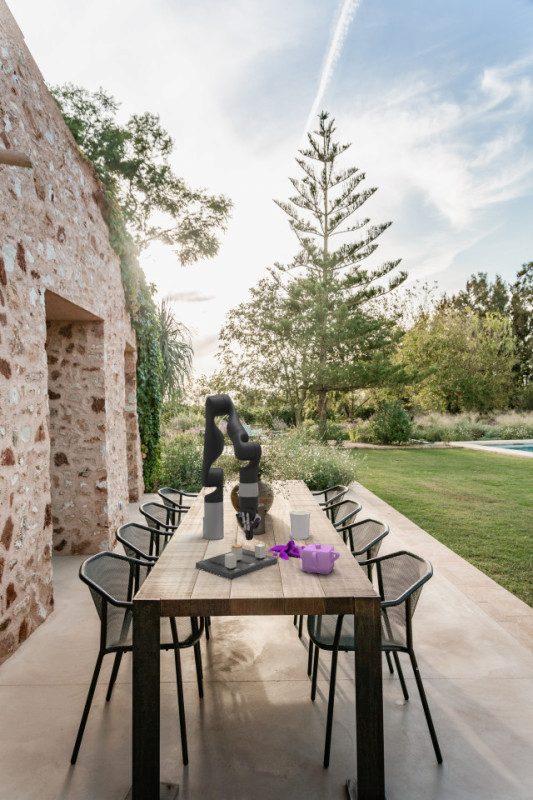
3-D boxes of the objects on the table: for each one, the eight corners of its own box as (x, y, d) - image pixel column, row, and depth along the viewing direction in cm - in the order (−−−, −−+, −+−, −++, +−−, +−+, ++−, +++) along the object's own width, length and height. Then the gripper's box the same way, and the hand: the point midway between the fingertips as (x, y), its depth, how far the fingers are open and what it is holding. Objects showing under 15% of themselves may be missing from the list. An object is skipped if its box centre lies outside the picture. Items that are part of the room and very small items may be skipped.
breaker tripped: (231, 559, 189) (231, 545, 189) (237, 557, 192) (237, 544, 192) (236, 560, 187) (236, 547, 187) (242, 558, 190) (242, 545, 190)
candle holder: (300, 541, 222) (300, 515, 223) (285, 537, 230) (285, 512, 230) (314, 537, 229) (314, 512, 229) (300, 533, 236) (299, 509, 236)
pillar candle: (268, 531, 242) (268, 501, 242) (259, 535, 233) (258, 504, 234) (251, 529, 246) (251, 499, 247) (242, 533, 238) (241, 503, 238)
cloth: (268, 547, 215) (268, 533, 215) (310, 547, 214) (310, 533, 215) (267, 563, 193) (266, 548, 193) (313, 563, 192) (313, 548, 192)
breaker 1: (225, 566, 180) (224, 554, 180) (230, 564, 182) (230, 552, 182) (230, 568, 178) (230, 556, 178) (236, 566, 180) (236, 554, 180)
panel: (195, 567, 187) (195, 562, 187) (242, 553, 205) (242, 548, 205) (231, 579, 173) (230, 573, 173) (277, 562, 192) (277, 557, 192)
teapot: (288, 573, 180) (288, 546, 180) (300, 562, 193) (299, 536, 193) (335, 579, 173) (335, 550, 173) (344, 567, 186) (344, 540, 186)
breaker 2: (254, 556, 192) (254, 545, 192) (260, 555, 194) (260, 543, 194) (260, 558, 190) (260, 546, 190) (265, 556, 192) (265, 545, 192)
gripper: (229, 493, 187) (230, 538, 186) (254, 497, 178) (254, 544, 177) (243, 491, 192) (244, 535, 192) (267, 494, 183) (268, 540, 183)
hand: (249, 539), depth 185 cm, fingers closed
